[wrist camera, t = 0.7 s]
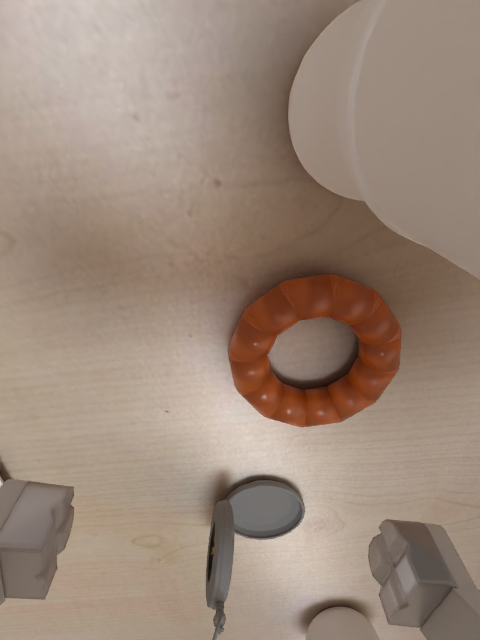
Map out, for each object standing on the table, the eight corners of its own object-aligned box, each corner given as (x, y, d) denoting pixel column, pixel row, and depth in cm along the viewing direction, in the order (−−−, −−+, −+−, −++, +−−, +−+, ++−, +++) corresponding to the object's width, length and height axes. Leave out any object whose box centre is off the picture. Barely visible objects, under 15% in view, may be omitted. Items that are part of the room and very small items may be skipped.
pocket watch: (313, 515, 32) (345, 664, 23) (222, 541, 34) (220, 692, 25) (279, 452, 29) (302, 599, 20) (180, 484, 30) (160, 635, 21)
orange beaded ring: (394, 257, 22) (412, 271, 20) (389, 397, 27) (403, 421, 24) (216, 284, 22) (215, 301, 20) (242, 418, 27) (244, 443, 25)
